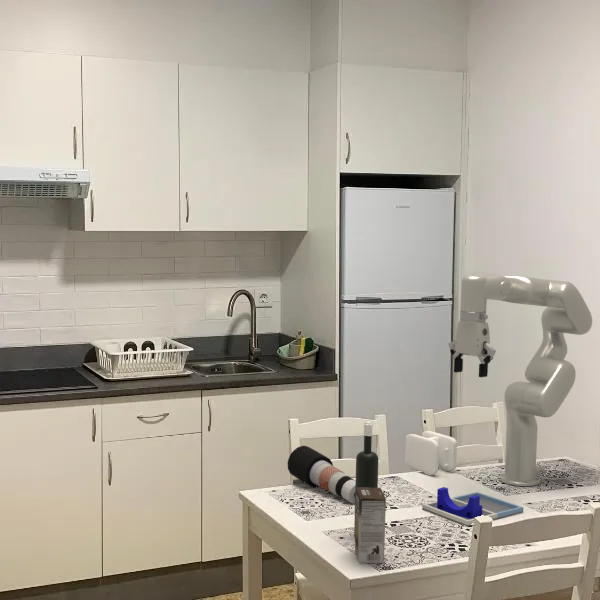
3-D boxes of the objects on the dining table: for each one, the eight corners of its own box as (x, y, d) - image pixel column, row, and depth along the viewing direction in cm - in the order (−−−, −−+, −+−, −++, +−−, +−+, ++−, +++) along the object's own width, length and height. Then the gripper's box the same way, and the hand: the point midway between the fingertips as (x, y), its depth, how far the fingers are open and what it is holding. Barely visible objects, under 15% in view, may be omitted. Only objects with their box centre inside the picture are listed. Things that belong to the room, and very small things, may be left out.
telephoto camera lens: (360, 524, 272) (350, 497, 267) (293, 483, 299) (283, 457, 295) (386, 504, 276) (376, 476, 271) (318, 464, 303) (308, 439, 299)
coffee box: (353, 549, 238) (355, 486, 237) (379, 549, 239) (381, 486, 237) (357, 563, 229) (359, 497, 228) (384, 563, 230) (386, 497, 228)
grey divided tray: (477, 496, 285) (477, 491, 285) (523, 512, 271) (523, 507, 271) (422, 509, 272) (422, 504, 272) (467, 526, 258) (467, 521, 258)
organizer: (402, 467, 316) (403, 432, 315) (425, 462, 323) (426, 428, 322) (434, 478, 304) (435, 442, 303) (457, 473, 311) (459, 437, 310)
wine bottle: (360, 540, 245) (363, 425, 242) (350, 533, 251) (353, 420, 248) (380, 537, 248) (383, 423, 245) (369, 530, 253) (372, 419, 250)
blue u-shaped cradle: (482, 516, 266) (482, 495, 265) (473, 519, 262) (473, 498, 262) (445, 506, 274) (446, 485, 273) (436, 509, 271) (437, 489, 270)
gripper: (504, 319, 278) (501, 377, 280) (459, 313, 292) (457, 369, 293) (487, 320, 274) (484, 380, 275) (442, 314, 287) (440, 371, 289)
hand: (470, 374), depth 284 cm, fingers open, 9 cm apart
